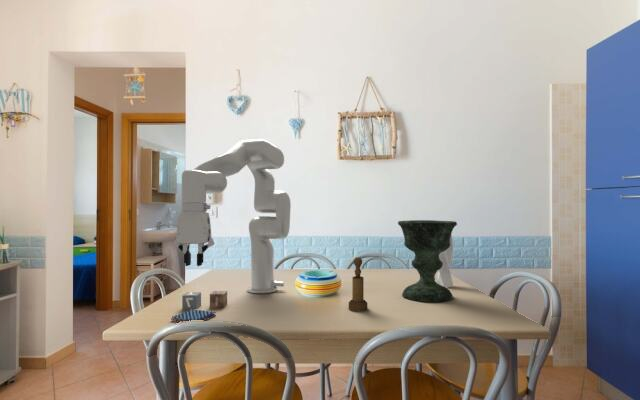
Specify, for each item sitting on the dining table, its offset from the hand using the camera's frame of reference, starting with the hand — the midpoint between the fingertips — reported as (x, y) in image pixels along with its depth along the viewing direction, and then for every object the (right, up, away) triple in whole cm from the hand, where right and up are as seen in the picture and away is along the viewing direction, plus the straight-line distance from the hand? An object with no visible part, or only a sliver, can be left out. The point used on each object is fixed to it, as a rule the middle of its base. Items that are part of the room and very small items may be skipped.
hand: (193, 265), depth 122 cm
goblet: (+83, -18, +28) cm, 89 cm away
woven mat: (0, -18, 0) cm, 18 cm away
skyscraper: (+96, -18, +47) cm, 109 cm away
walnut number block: (+4, -18, +15) cm, 23 cm away
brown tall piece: (+54, -18, +11) cm, 58 cm away
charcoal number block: (-5, -18, +13) cm, 22 cm away
